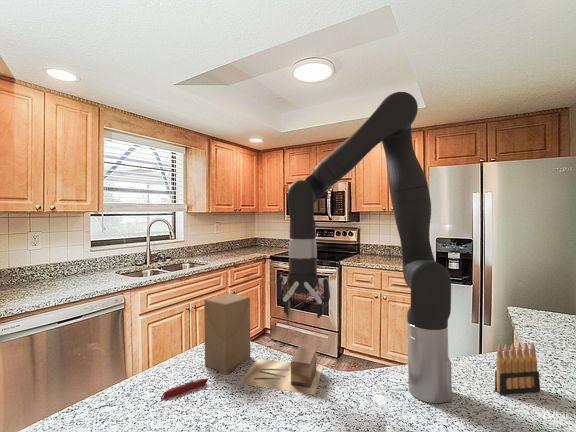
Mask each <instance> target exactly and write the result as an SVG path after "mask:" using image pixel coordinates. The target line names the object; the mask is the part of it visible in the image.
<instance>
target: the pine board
mask: <svg viewBox="0 0 576 432" xmlns="http://www.w3.org/2000/svg"><path fill="white" fill-rule="evenodd" d="M323 369H324V366H323V367H322V366H321V365H316V373H315V376H314V379H313V382H312V385H311V387H310V388H308V387H301V386H294V385H291V362H287V361H281V360H280V361H279V360H278V361H277V360H270V359H263V358H257V359H256V361H255V362H254V363H253V364H252V366H251V367H250V368H249V369H248V371H247V372H246V373H245V374H244V376H242V378H241V379H240V380H239V381H238V384H239V385H246V386H252V387H259V388H267V389H272V390H279V391H280V390H281V391H289V392H293V393H300V394H301V393H302V394H310V395H315V394H316V391H317V388H318V385H319V382H320V378H321V376H322V375H321V374H322V372H323Z"/></svg>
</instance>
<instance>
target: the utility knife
mask: <svg viewBox="0 0 576 432" xmlns="http://www.w3.org/2000/svg"><path fill="white" fill-rule="evenodd" d="M208 380H209V378H201V379H198V380H194V381H193V380H191V381H189V382H187V383H184V384H181V385H177V386H174V387H172V388H169V389H167V390H166V391H164V392H163V393H162V396H161V398H160V400H166V399H168V398H171V397H175V396H178V395H182V394H185V393H187V392H190V391H193V390H197V389H199V388H203V387H205V386H206V385H207V383H208Z"/></svg>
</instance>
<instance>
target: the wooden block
mask: <svg viewBox="0 0 576 432" xmlns="http://www.w3.org/2000/svg"><path fill="white" fill-rule="evenodd" d="M203 302H204V304H203V306H204V307H203V308H204V309H203V311H204V324H203V325H204V365H205V366H206V367H209V368H210V369H212V370H215V371H217V372H219V373H220V374H221V373H222V374H224V375H229V374H230V373H232V372H234V371H236V369H237V368H238V367H239V366H240V365H241V363H243V362H244V361H247V360H249V359H250V358H251V299H250V297H249V296H245V295H240V294H235V293H224V294H220V295H217V296H212V297H208V298H205V299H204V301H203Z"/></svg>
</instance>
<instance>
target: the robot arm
mask: <svg viewBox="0 0 576 432" xmlns="http://www.w3.org/2000/svg"><path fill="white" fill-rule="evenodd" d="M418 110H419V106H418V102H417V99H416V98H415V96H413V95H412V94H411V93H410V92H406V91H395V92H393V93H391V94H389V95H387V96H386V97H385V98H384V99H383V100H382V102H381V103H380V104H379V106H378V107H377V108H376V109H375V110H374V111H373V112H372V114H371V115H370V116H369V118H367V120H366V121H364V122H363V123H362V125H361V126H359V127H358V128H357V130H356V131H354V132H353V133H352V134H350V136H349V137H348V138H347V139H345V140H344V141H343V142H342V143H341V144H339V145H338V146H337V147H336V148H335V149H333V150H332V151H331V152H330V153H329V154H328V155H326V156H325V157H324V158H323V159H322V160H321V161H319V162H318V163H317V164H316V165H315V167H314V168H313V170H312V172H311V173H310V174H309V175H308V176H306V177H305V178H304V179H303V180H302V179H299V180H295V181H293V182H292V183H291V184H290V185H289V187H288V190H287V198H286V199H287V209H288V214H289V242H288V243H289V244H288V276H284V275H279V276H278V278H277V281H276V299H278V300H281V301H283V313H284V314H285V316H286V317H287V316H288V317H289V316H290V315H291V300H290V298H291V297H292V296H293V294H294V293H296V294H298V295H300V294H304V295H309V294H310V295H311V296H312V297H313V298H314V299H315V301H316V302H317V304H316V316H317V317H316V318H317V319H321V317H323V315H324V303H329V301H330V300H331V289H330V279H329V277H327V276H326V277H324V278H323V277H321V278H319V277H318V251H317V249H318V248H317V247H318V246H317V237H316V234H317V232H316V230H317V229H316V220H315V215H314V212H315V211H314V209H315V208H314V207H315V203H316V202H317V201H318V200H319V199H320V198H321V197H322V196H323V195H325V193H326V192H327V191H328V190H329V189H330V188H331V187H332V186H334V185H335V184H336V183H338V182H339V181H340V180H342V179H343V178H344V177H345V176H346V175H348V174H349V173H350V172H351V171H352V170H353V169H354V168H355V167H356V166H357V165H359V163H361V161H362V160H363V159H364V158H365V157H366V156H367V154H369V153H370V152H371V151H372V150H373V149H374V148H375V147H377V145H379V144H380V143H382V147H383V151H384V154H385V161H386V172H387V181H388V182H387V183H388V187H389V188H388V189H389V193H390V194H389V196H390V201H391V206H392V211H393V215H394V220H395V225H396V228H397V231H398V232H397V233H398V236H399V240H400V246H401V247H400V249H401V258H402V259H401V260H402V274H403V278H404V279H403V280H404V282H405V284H406V285H407V287H408V288H409V289H410V307H409V308H408V309H407V312H406V319H407V320H406V321H407V322H406V323H407V325H406V326H407V329H406V330H407V372H408V373H407V374H408V377H407V378H408V379H407V382H408V391H409V393H410V394H411V395H412V397H415V398H416V399H418V400H420V401H423V402H427V403H430V404H443V403H447V402H448V403H452V402H453V391H452V390H453V387H452V386H453V385H452V361H451V359H450V358H449V319H450V317H451V313H452V280H451V276H450V273H449V271H448V269H447V268H446V267H445V266H444V265H443V264H441V263H439V262H437V261H436V260H435V258H434V255H433V254H434V253H433V250H432V246H431V241H430V227H431V219H432V202H431V201H432V200H431V195H430V190H429V189H430V188H429V184H428V180H427V177H426V174H425V172H424V170H423V167H422V166H421V164H420V160H419V159H418V157H417V155H416V152H415V150H414V145H413V137H412V135H413V134H412V124H413V123H414V122H415V120H416V118H417V115H418ZM286 283H288V285H289V286H290V288H289V290H288V291H287V292H286V294H285V293H284V286H285V285H286ZM318 284H320V285H321V287H323V295H322V294H321V293H320V291H319V289H318V288H317V285H318Z"/></svg>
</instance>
